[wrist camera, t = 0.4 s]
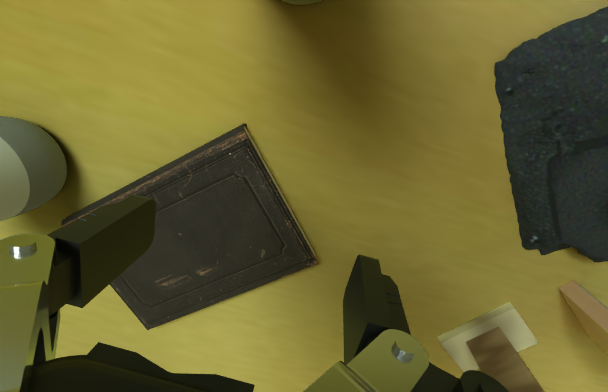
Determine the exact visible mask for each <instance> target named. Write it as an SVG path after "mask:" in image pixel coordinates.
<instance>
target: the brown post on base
mask: <svg viewBox="0 0 608 392" xmlns="http://www.w3.org/2000/svg"><path fill="white" fill-rule="evenodd" d="M437 338H438V340H439V343H440V344H441V346H442V347H443V348H444V349H445V350H446V352H447V353H448V354H449V355H450V357H451V358H452V359H453V360H454V362H455V363H456V364H457V365H458V366H459V368H460V369H461V370H462V371H463V373H464V372H465V371H468V370H478V369H480V370H481V372H483V373H485V374H487V375H489V376H491V377H492V378H494V379H495V380H497V381H498V382H500V383H501V384H502V385H503V386H504V387H505V388H506V389H507V390H508V391H509V392H544V390H543V389H542V388H541V386H540V385H539V383H538V382H537V380H536V379H535V377H534V376H533V375H532V373H531V372H530V370H529V369H528V367H527V366H526V364H525V363H524V361H523V360H522V359H521V357H520V356H519V354H518V353H517V352H519V351H521V350H524V349H526V348H528V347H531V346H533V345H535V344H537V343H539V342H538V341H537V339H536V338H535V337H534V335H533V334H532V332H531V331H530V329H529V328H528V326H527V325H526V324H525V322H524V321H523V319H522V318H521V316H520V315H519V313H518V312H517V311H516V309H515V308H514V306H513V305H512V304H511V303H510V302H508V303H506V304H504V305H502V306H500V307H497V308H495V309H493V310H491V311H489V312H487V313H485V314H483V315H481V316H479V317H477V318H475V319H473V320H471V321H469V322H467V323H464V324H462V325H460V326H458V327H456V328H454V329H452V330H450V331H448V332H446V333H444V334H442V335H440V336H438V337H437Z"/></svg>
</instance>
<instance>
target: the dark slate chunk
mask: <svg viewBox="0 0 608 392" xmlns="http://www.w3.org/2000/svg"><path fill="white" fill-rule="evenodd" d="M495 76H496V84H495V89H496V94H497V97H498V99H499V103H500V105H501V114H500V118H501V120H502V124H501V127H502V131H503V133H504V146H505V157H506V159H507V166H508V170H509V173H510V175H511V176H510V182H511V185H512V194H513V197H514V201H515V208H516V212H517V216H518V223H519V233H520V236H521V240H522V246H523V247H524V248H525V249H527V250H533V249H538V250H539V251H540V253H541V255H546V254H549V253H551V252H554V251H557V250H561V249H565V248H569V247H573V248H575V249H576V250H577V251H578V253H580V254H582V255H584V256H587V257H588V258H589V259H591V260H593V261H594V262H604V261H608V7H605V8H602V9H600V10H598V11H596V12H595V13H592V14H590V15H588V16H586V17H583V18H580V19H576V20H573V21H570V22H567V23H565V24H562V25H560V26H558V27H556V28H554V29H552V30H550V31H549V32H546V33H544V34H543V35H541V36H539V37H538V38H537V39H531V40H528V41H526V42H523V43H522V44H521V45H520V46H519V47H517V48H515V49H513V50H512V51H511V52H510V53H509V54H508V56H507V57H506V59H505V60H503V61H500V62H496V64H495Z"/></svg>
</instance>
